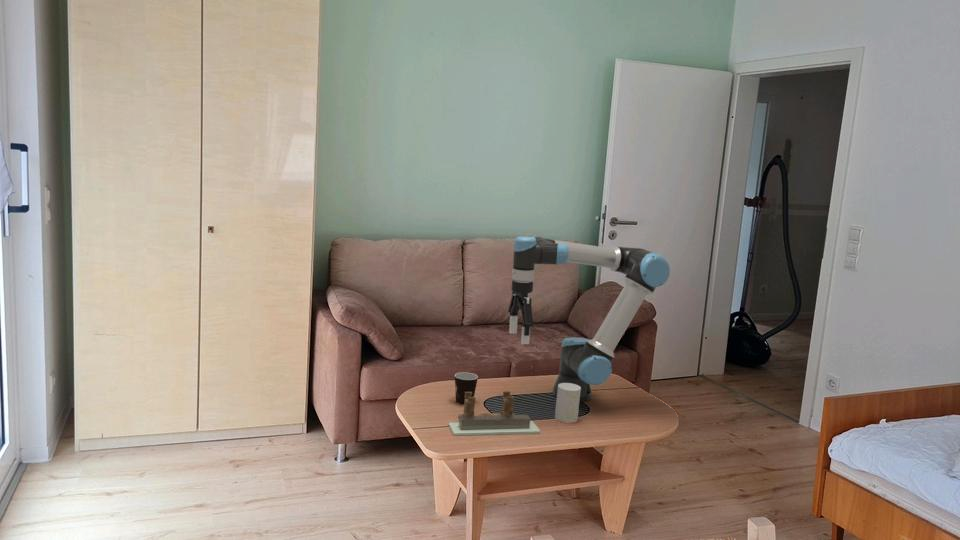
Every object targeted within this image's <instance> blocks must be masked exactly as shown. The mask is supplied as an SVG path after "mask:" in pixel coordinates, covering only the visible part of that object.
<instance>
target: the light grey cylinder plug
mask: <svg viewBox="0 0 960 540" xmlns="http://www.w3.org/2000/svg"><path fill="white" fill-rule="evenodd" d="M580 391H581V387H580V386H578V385H576V384H572V383H560V384H558V391H557V397H556V401H555V402H556V403H555V410H554V411H555V412H554V419H555V420H556V419H557V421H558V420H559V421H558V422H560V421H562V422H561V423H565V422H568V424H571V423H570V422H574V423H576V422H577V421H578V418H579V417H578V416H579V406H580V402H579V401H580Z"/></svg>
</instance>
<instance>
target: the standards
mask: <svg viewBox="0 0 960 540" xmlns="http://www.w3.org/2000/svg"><path fill="white" fill-rule="evenodd" d="M502 397H503V398H502V408H501V412H496V413H491V412H490V413H486V412H485V413H475V409H476V408H475V407H476V396H474V397H472V392H465V398H468V399H465V401H464V405H463V413H459V414H458V418H459V416H487V415H515V414H514V413H513V411H514V404H515V396H511V391H508V390H507V391H506V390H505V391H504V390H503V392H502Z"/></svg>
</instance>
